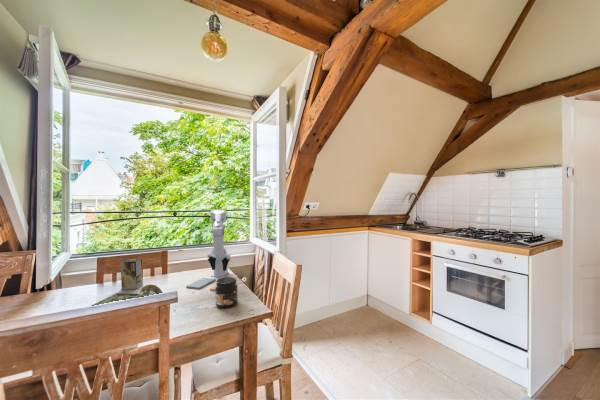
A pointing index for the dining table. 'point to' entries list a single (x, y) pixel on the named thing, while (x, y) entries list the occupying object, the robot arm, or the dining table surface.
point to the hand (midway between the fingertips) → (219, 270)
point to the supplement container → (226, 292)
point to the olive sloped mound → (144, 291)
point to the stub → (215, 286)
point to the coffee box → (131, 274)
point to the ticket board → (201, 283)
